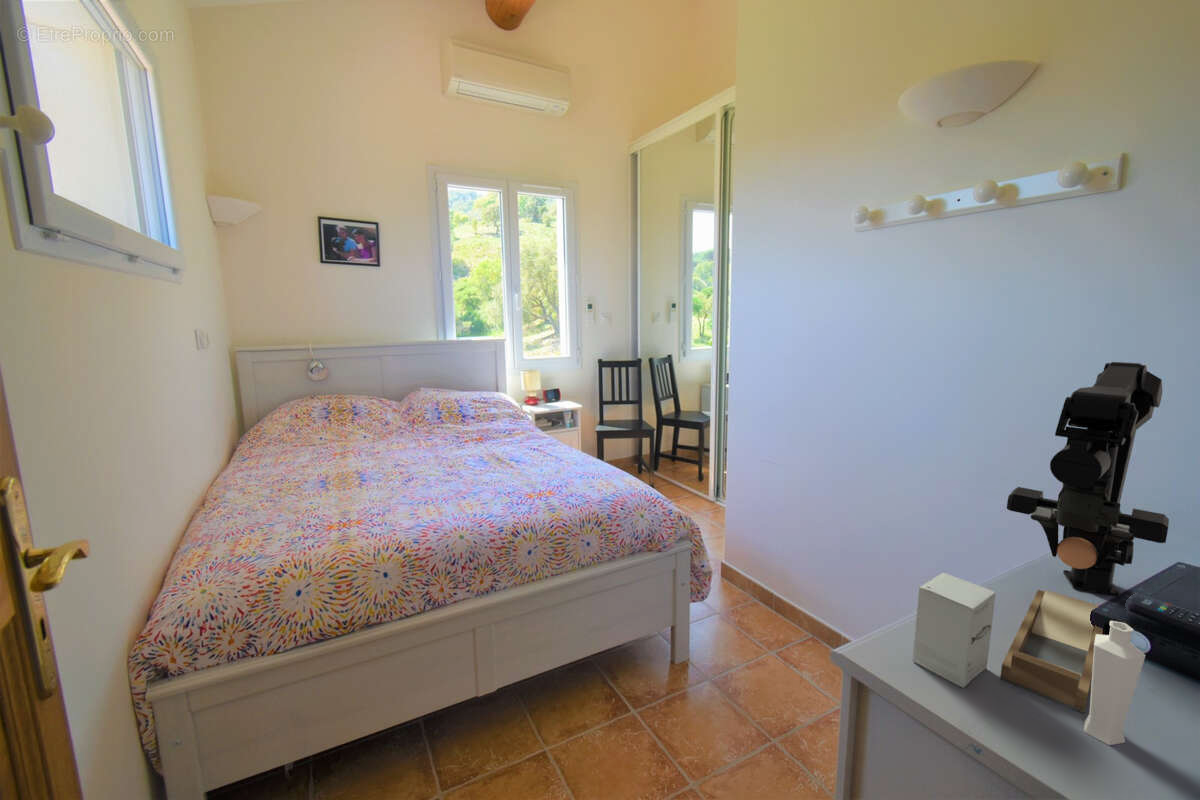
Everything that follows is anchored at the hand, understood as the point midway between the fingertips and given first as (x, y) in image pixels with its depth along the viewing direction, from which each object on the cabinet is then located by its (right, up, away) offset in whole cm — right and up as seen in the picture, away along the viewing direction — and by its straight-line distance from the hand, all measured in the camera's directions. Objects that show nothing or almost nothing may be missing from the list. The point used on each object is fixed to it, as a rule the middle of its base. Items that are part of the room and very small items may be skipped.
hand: (1075, 561), depth 86 cm
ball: (0, +1, 0) cm, 2 cm away
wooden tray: (-7, -12, -5) cm, 15 cm away
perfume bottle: (-15, -16, -20) cm, 30 cm away
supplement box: (-25, -14, -7) cm, 30 cm away
